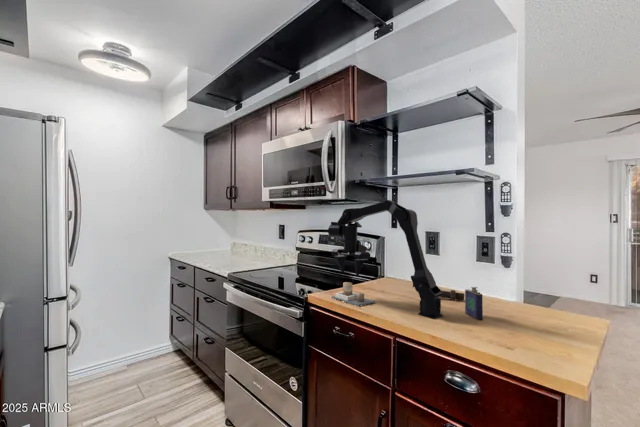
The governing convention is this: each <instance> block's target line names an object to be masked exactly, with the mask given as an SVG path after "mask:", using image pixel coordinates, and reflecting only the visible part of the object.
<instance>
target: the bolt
mask: <svg viewBox="0 0 640 427" xmlns="http://www.w3.org/2000/svg"><path fill="white" fill-rule="evenodd" d="M440 290H441V289H440ZM441 291H442V295H441V297H439V299H443V298H444V299H448V300H449V301H451V300H454V301H453V302H455V301H457V300H458V301H465V292H457V291H456V290H455V289H451V290H450V291H449V290H448V291H447V290H441Z"/></svg>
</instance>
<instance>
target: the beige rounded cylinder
mask: <svg viewBox="0 0 640 427" xmlns="http://www.w3.org/2000/svg"><path fill="white" fill-rule="evenodd" d="M342 285H343V286H342V292H343V295H346V296H351V295H352V292H353V282H350V281H349V282H347V281H345V282H343V283H342Z"/></svg>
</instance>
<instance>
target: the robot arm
mask: <svg viewBox="0 0 640 427" xmlns="http://www.w3.org/2000/svg"><path fill="white" fill-rule="evenodd" d="M385 212H388V213H389V214H390V215H392V217H395V219H396V220H397V223H398V225H399V227H400V228H401V230H402V231H403V233H404V235H405V240H406V243H407V247H408V251H409V253H410V258H411V261H412V266H413V268H414V271H413V272H414V274H413V275H410V280H411V282H412V288H414V289H415V291H416V292H417V293H418V295H419V299H420V300H419V312H417V315H420V316H423V317H426V318H430V319H437V318H439V317H442V316H444V314H443V313H442V311H441V310H442V309H441V308H442V306H441V305H442V302H441V301H442V298H440V297H441V295H442V291H443V290H442V291H441V288H440V287H439V286H438V285H437V284H436V283H437V282H436V280H435V278H434V276H433V274H432V273H431V271H430V270H429V267H428V266H427V263H426V259H425V256H424V252H423V249H422V245H421V242H420V241H421V240H420V236H419V233H418V224H419V222H418V215H417V213H416V211H415V210H413V209H408V208H406V207H404V206H402V205H400V204H399V203H397V202H395V201H394V200H390V199H386V200H384V201H381V202H377V203H373V204H370V205H367V206H363V207H354V208H353V207H352V208H345V209H344V210H343V211H342V214H341V216H340V217H339V219H338V221H331V222H330V225H329V226H328V229H327V233H328V236H329V237H330V238H331V237H332V238H343V239H341V243H343V248H333V249H332V250H331V256H332V257H333V258H334V259H335V261H336V263H337V265H338V267H339V269H340V272H341V273H344V272H345V264H346V259H347V257H353V258H354V259H353V263H354V264H353V265H354V269H355V275H356V276H359V275H360V272H361V271H362V268H363V265H364V263H365V262H366V261H368V260H370V259H371V253H370V252H369V251H367V250H368V247H367V246H366V245H363V244H360V240H358V228H363V226H362V225H361V223H360V222H359V221H361V220H363V219H364V218H367V217H368V216H369V217H371V216H373V215H377V214H382V213H385Z"/></svg>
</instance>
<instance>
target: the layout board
mask: <svg viewBox="0 0 640 427" xmlns="http://www.w3.org/2000/svg"><path fill="white" fill-rule="evenodd" d="M332 298H334V300H335V299H337V300H336V301H338V300H341V301H340V302H342V301H344V302H343V303H345V302H347V303H346V304H348V303H350V304H349V305H351V304H353V305H352V306H354V305H356V306H355V307H357V306H359V307H362V306H361V305H364V306H366V305H365V304H368V305H371V304H370V303H373V304H375V303H376V300H373V299H368V298H365V293H364V292H354V291H352V295H351V296H346V295H343V291H339V292H335V293H334V295H332V296H331V299H332Z"/></svg>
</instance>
